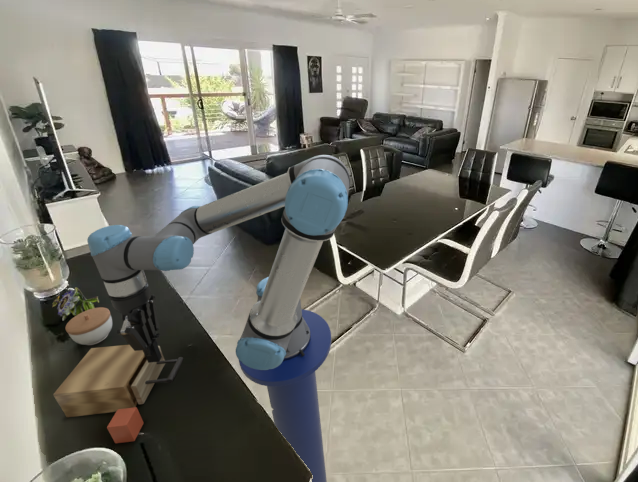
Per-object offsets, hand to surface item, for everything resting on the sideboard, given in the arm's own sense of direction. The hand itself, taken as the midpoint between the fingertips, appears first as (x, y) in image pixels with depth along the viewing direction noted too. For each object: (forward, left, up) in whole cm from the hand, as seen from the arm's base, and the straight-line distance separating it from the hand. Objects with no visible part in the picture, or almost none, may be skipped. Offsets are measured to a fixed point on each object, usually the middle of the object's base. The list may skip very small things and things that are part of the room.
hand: (155, 359), depth 85 cm
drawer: (+4, +4, -8) cm, 10 cm away
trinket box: (+34, +6, -9) cm, 36 cm away
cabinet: (+8, +8, -9) cm, 15 cm away
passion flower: (+52, +7, -9) cm, 54 cm away
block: (-8, +10, -9) cm, 16 cm away
